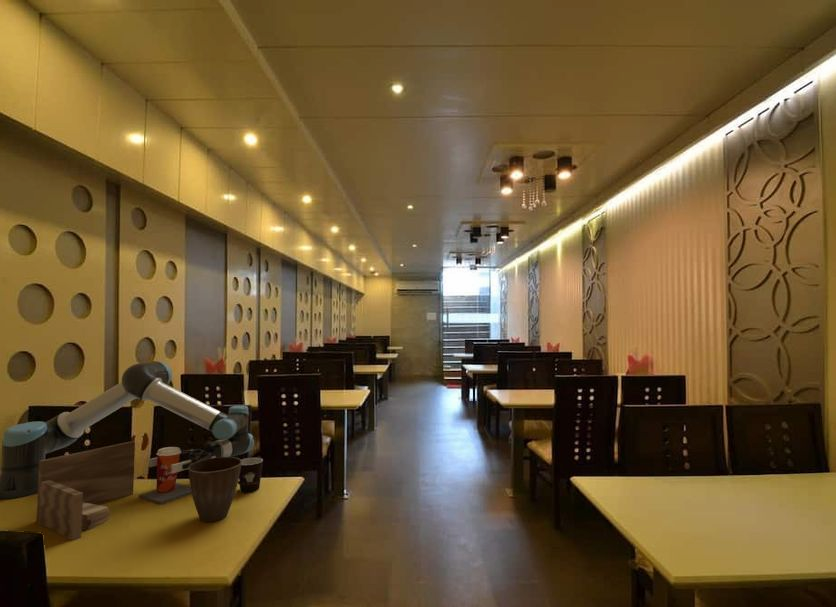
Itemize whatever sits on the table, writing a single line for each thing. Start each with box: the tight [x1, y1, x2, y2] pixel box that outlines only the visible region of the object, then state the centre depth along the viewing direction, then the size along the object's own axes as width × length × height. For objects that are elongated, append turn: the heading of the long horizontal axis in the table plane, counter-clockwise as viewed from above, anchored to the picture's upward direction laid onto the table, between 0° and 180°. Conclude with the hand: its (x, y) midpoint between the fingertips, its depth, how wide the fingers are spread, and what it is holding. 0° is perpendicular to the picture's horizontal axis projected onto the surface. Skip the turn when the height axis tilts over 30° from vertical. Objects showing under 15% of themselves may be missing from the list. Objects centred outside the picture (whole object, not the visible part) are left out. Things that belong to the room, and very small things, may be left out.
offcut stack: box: [81, 502, 111, 531], centre depth 126 cm, size 12×7×4 cm, turn 74°
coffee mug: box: [237, 457, 264, 493], centre depth 153 cm, size 12×9×10 cm
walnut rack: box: [36, 440, 136, 541], centre depth 133 cm, size 24×26×18 cm
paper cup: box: [156, 446, 182, 492], centre depth 151 cm, size 8×8×14 cm
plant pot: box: [187, 456, 242, 523], centre depth 130 cm, size 15×15×16 cm
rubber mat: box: [138, 482, 192, 505], centre depth 148 cm, size 13×13×1 cm
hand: (160, 466), depth 146 cm, fingers open, 13 cm apart
